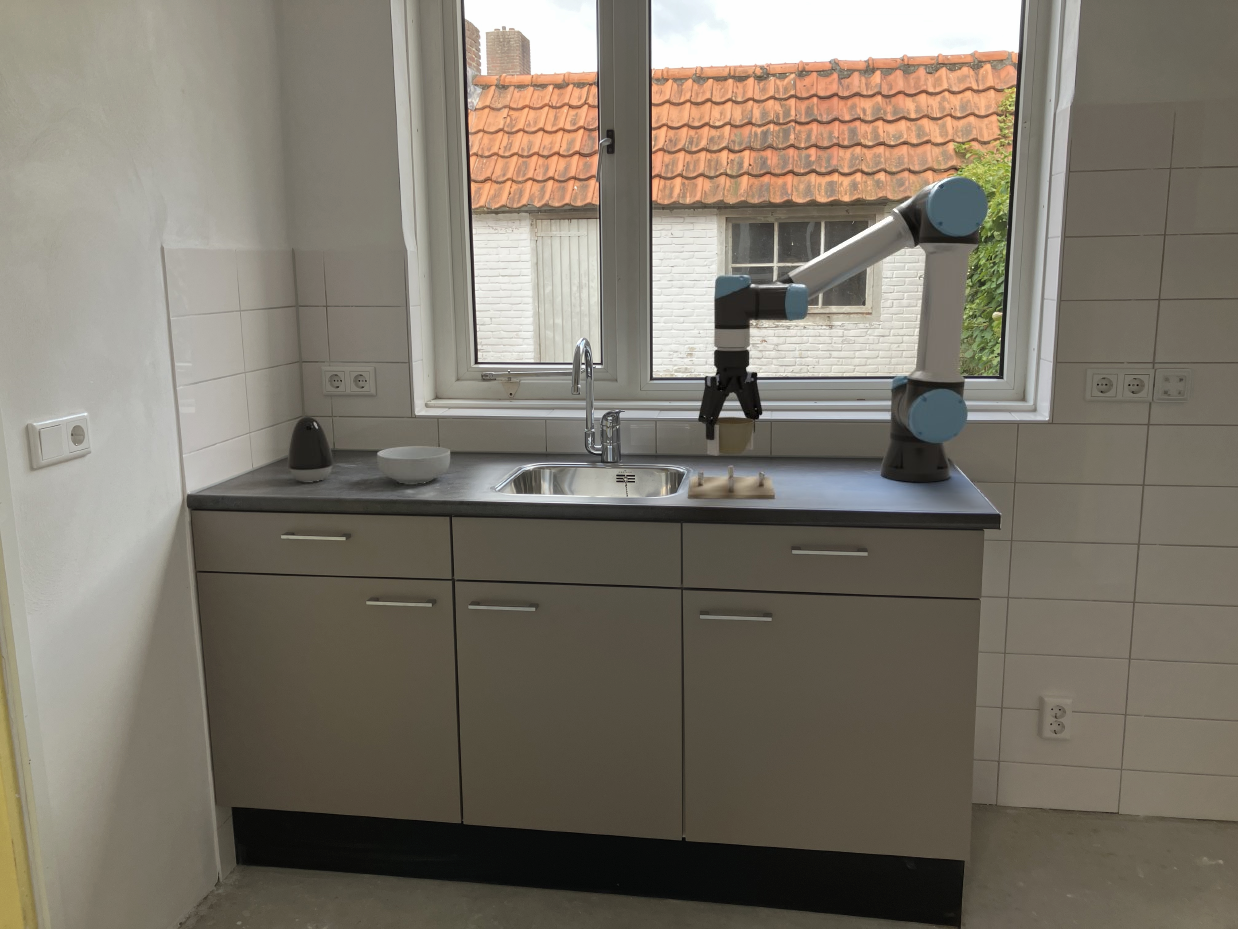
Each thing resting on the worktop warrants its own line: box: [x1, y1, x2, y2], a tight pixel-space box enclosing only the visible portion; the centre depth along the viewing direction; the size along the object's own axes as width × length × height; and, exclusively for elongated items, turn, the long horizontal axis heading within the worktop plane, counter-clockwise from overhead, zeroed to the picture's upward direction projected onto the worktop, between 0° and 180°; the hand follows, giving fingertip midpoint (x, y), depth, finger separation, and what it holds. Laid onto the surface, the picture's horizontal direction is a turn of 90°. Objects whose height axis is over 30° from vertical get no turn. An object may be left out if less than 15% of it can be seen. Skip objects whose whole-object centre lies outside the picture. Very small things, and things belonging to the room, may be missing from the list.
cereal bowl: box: [376, 445, 451, 484], centre depth 233 cm, size 17×17×7 cm
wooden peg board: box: [687, 465, 776, 500], centre depth 219 cm, size 18×18×4 cm
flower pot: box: [711, 416, 754, 456], centre depth 217 cm, size 10×10×7 cm
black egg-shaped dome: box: [287, 416, 334, 482], centre depth 235 cm, size 10×10×15 cm
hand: (730, 451), depth 218 cm, fingers closed on flower pot, 10 cm apart
